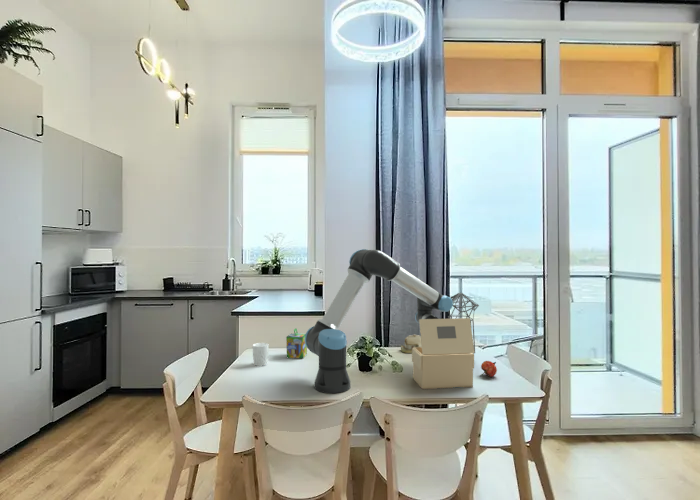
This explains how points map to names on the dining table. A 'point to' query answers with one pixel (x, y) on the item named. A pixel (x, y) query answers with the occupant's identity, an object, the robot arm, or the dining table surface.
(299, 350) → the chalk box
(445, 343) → the lid flap
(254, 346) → the white cup
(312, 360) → the dining table surface
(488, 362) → the pomegranate
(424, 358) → the carton
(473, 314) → the geometric lantern
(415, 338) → the ceramic model
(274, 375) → the dining table surface
